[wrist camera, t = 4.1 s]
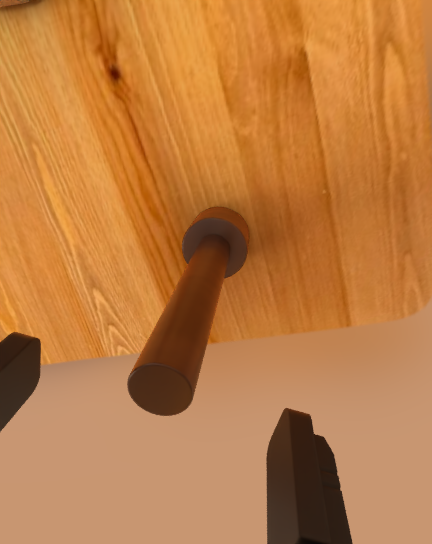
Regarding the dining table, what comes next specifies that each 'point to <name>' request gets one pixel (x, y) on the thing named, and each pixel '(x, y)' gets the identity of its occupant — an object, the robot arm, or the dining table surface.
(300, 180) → the dining table surface
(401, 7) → the dining table surface
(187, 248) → the masher
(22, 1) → the bowl
